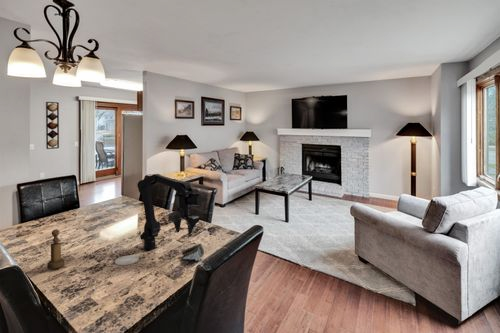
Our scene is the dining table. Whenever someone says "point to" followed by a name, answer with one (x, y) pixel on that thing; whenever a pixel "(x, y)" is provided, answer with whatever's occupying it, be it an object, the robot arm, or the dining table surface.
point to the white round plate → (126, 260)
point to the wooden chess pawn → (55, 252)
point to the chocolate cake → (193, 252)
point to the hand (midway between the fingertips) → (183, 233)
